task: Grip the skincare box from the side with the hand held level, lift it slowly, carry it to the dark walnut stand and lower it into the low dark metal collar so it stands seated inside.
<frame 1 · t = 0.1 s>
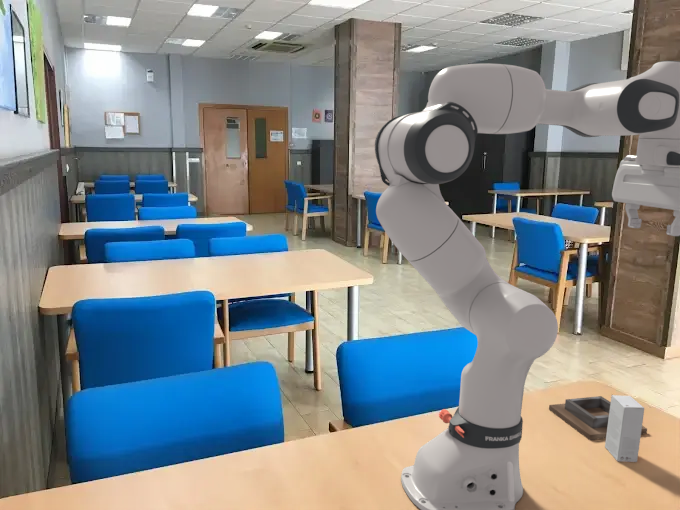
hand: (652, 231, 105), 48 cm above the table, tool pointing down, fingers open, 8 cm apart
skincare box: (620, 455, 119), on the table
collar stand: (595, 421, 134), on the table
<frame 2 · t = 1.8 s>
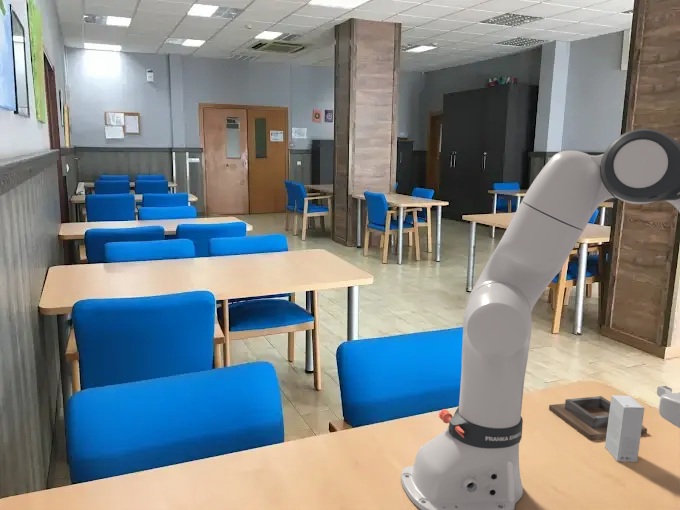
nothing on the table moved.
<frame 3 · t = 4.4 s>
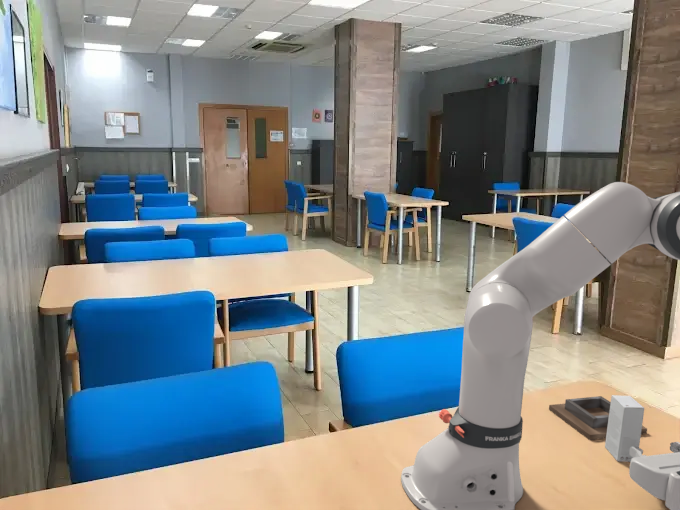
hand: (652, 447, 110), 6 cm above the table, tool horizontal, fingers open, 8 cm apart
nothing on the table moved.
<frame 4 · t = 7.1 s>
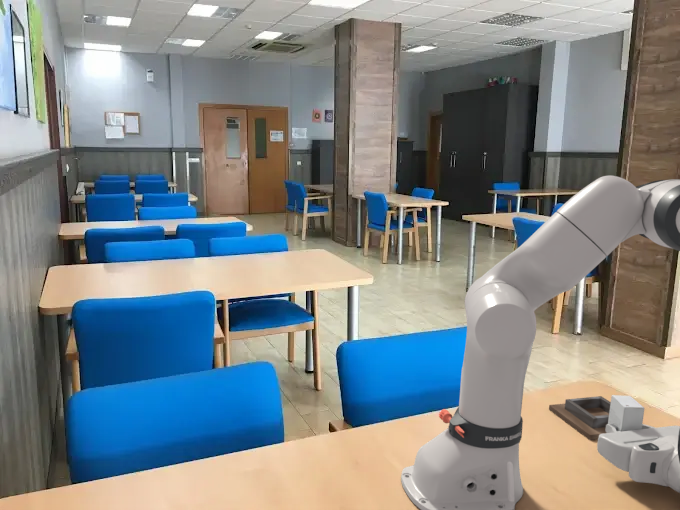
hand: (621, 425, 119), 6 cm above the table, tool horizontal, fingers closed on skincare box, 5 cm apart
skincare box: (620, 455, 119), on the table, touching gripper
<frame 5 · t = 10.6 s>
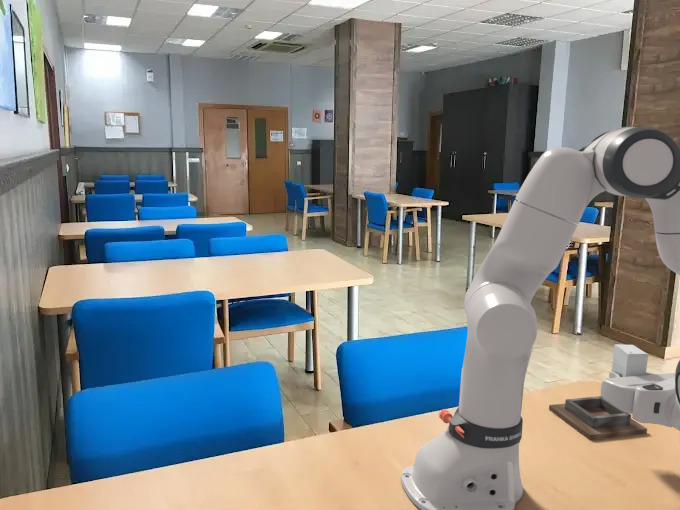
hand: (624, 374, 118), 17 cm above the table, tool horizontal, fingers closed on skincare box, 5 cm apart
skincare box: (624, 404, 119), point 11 cm above the table, touching gripper
when the fingers open (8 cm above the table, at t = 14.6 s): skincare box stays where it is, resting on collar stand.
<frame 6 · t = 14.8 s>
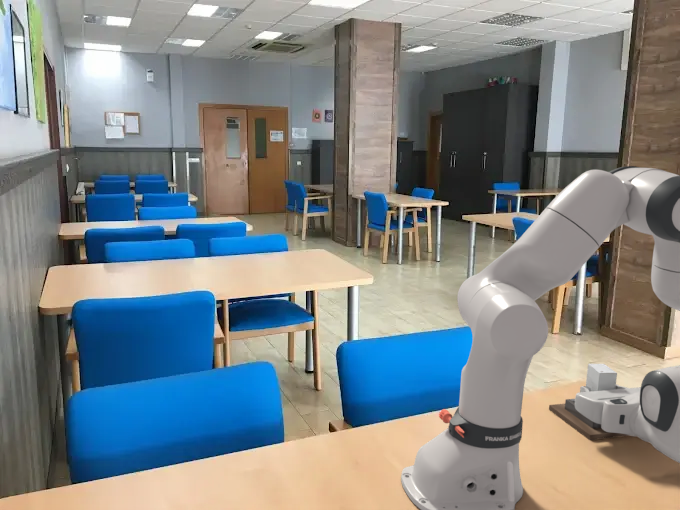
hand: (597, 387, 133), 8 cm above the table, tool horizontal, fingers open, 6 cm apart
skincare box: (596, 417, 133), point 1 cm above the table, touching collar stand
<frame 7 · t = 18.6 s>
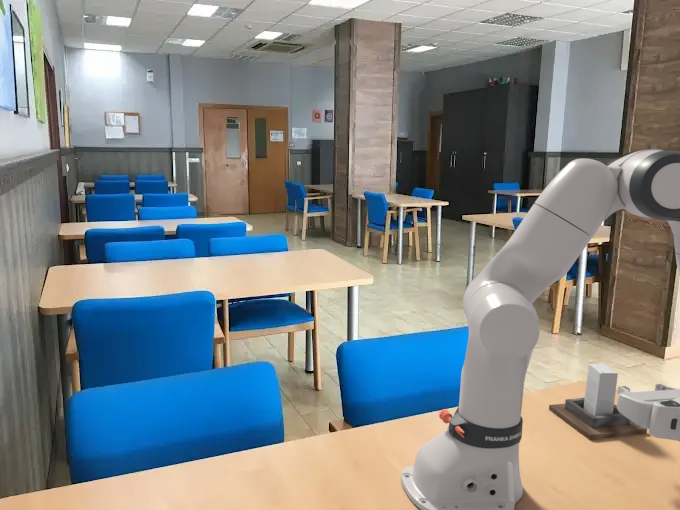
hand: (639, 388, 120), 14 cm above the table, tool horizontal, fingers open, 8 cm apart
nothing on the table moved.
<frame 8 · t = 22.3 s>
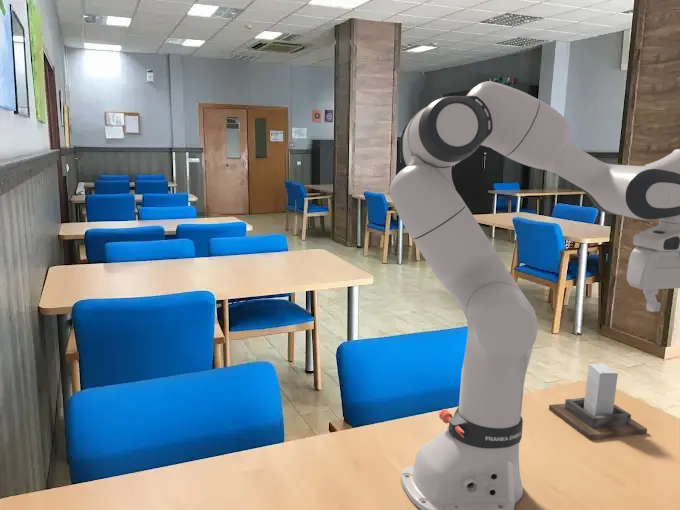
hand: (673, 310, 108), 33 cm above the table, tool pointing down, fingers open, 8 cm apart
nothing on the table moved.
at the end: skincare box 0.1 cm off-centre on the collar stand, point 1.0 cm above the collar stand's base; skincare box tilted 0°; the gripper is holding nothing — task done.
